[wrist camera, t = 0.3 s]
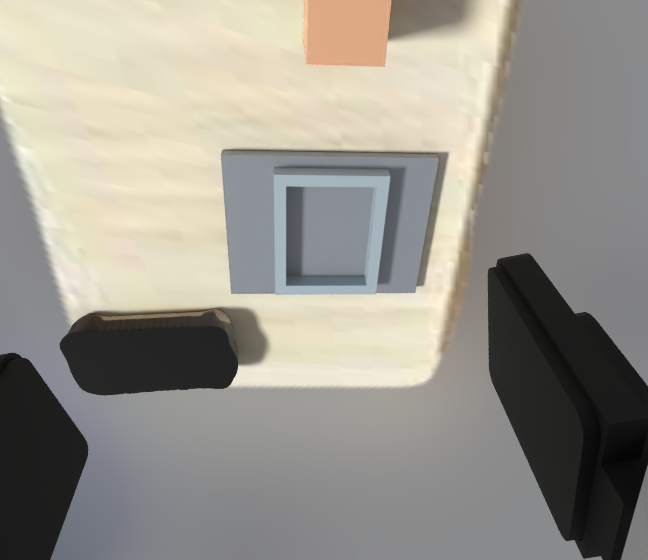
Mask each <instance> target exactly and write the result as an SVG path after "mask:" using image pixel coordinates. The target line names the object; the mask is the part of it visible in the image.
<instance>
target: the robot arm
mask: <svg viewBox="0 0 648 560" xmlns="http://www.w3.org/2000/svg"><path fill="white" fill-rule="evenodd" d="M488 324H489V325H488V331H489V332H488V333H489V371H490V376H491V379H492V383H493V385H494V387H495V390H496V392H497V394H498V396H499V398H500V400H501V403H502V405H503V407H504V409H505V411H506V414H507V416H508V418H509V421H510V423H511V425H512V427H513V429H514V432H515V434H516V436H517V438H518V440H519V443H520V445H521V447H522V449H523V452H524V454H525V456H526V458H527V460H528V462H529V465H530V467H531V469H532V471H533V474H534V476H535V478H536V480H537V482H538V485H539V487H540V489H541V491H542V494H543V496H544V498H545V500H546V502H547V505H548V507H549V509H550V511H551V514H552V516H553V518H554V520H555V522H556V524H557V527H558V529H559V531H560V533H561V535H562V536H563V538H564V539H565V540H566V541H570V540H575V542H576V544H577V546H578V548H579V550H580V552H581V555H582V557H583V558H584V559H585V558H591V557H597V556H601V557H602V559H603V560H648V386H647V385H646V383H645V382H644V381H643V379H642V378H641V377H640V376H639V374H638V373H637V372H636V371H635V369H634V368H633V367H632V366H631V364H630V363H629V362H628V360H627V359H626V358H625V356H624V355H623V354H622V353H621V351H620V350H619V349H618V348H617V346H616V345H615V344H614V342H613V341H612V340H611V338H610V337H609V336H608V335H607V333H606V332H605V331H604V330H603V328H602V327H601V326H600V324H599V323H598V322H597V321H596V319H595V318H593V316H591V315H590V314H589V313H586V312H582V313H577V314H574V312H573V311H572V309H571V308H570V307H569V305H568V304H567V303H566V301H565V300H564V299H563V297H562V296H561V295H560V293H559V292H558V291H557V289H556V288H555V286H554V285H553V284H552V282H551V281H550V280H549V279H548V277H547V276H546V274H545V273H544V272H543V270H542V269H541V268H540V266H539V265H538V263H537V262H536V261H535V259H534V258H533V257H532V256H531V255H530V254H528V253H526V254H521V255H516V256H510V257H505V258H500V259H498V261H497V266H496V267H493V268H489V270H488ZM87 456H88V445H87V442H86V440H85V438H84V437H83V435H82V434H81V432H80V431H79V430H78V428H77V427H76V425H75V424H74V422H73V421H72V420H71V418H70V417H69V415H68V414H67V413H66V411H65V410H64V408H63V407H62V406H61V404H60V403H59V402H58V400H57V398H56V397H55V396H54V394H53V393H52V391H51V390H50V389H49V387H48V386H47V384H46V383H45V382H44V380H43V379H42V377H41V376H40V375H39V373H38V372H37V370H36V369H35V367H34V366H33V365H32V363H31V362H30V361H29V360H28V359H26V358H22V357H21V356H20V355H18V354H16V353H8V354H3V355H0V560H50V559H51V556H52V553H53V551H54V548H55V545H56V542H57V540H58V537H59V534H60V531H61V529H62V526H63V523H64V520H65V518H66V515H67V512H68V509H69V507H70V504H71V501H72V498H73V496H74V493H75V490H76V487H77V484H78V482H79V479H80V476H81V473H82V470H83V468H84V465H85V463H86V460H87Z"/></svg>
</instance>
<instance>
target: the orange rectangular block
mask: <svg viewBox="0 0 648 560" xmlns="http://www.w3.org/2000/svg"><path fill="white" fill-rule="evenodd" d="M391 1H392V0H304V12H303V45H304V51H305V57H306V63H307V64H312V65H347V66H381V67H385V59H386V49H387V40H388V30H389V20H390V11H391Z"/></svg>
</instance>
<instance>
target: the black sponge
mask: <svg viewBox="0 0 648 560" xmlns="http://www.w3.org/2000/svg"><path fill="white" fill-rule="evenodd" d="M60 349H61V351H62V353H63V355H64V356H65V358H66V360H67V362H68V365H69V368H70V371H71V373H72V375H73V377H74V379H75V381H76V382H77V384H78V385H79V387H80V388H81V389H82V390H84V391H86V392H88V393H92V394H96V395H115V394H116V395H117V394H124V393H128V394H130V393H140V392H153V391H164V390H177V389H179V390H188V389H196V388H213V389H224V388H227V387H228V386H229V385H231V383H232V381H233V379H234V377H235V375H236V373H237V369H238V351H237V346H236V342H235V339H234V336H233V330H232V325H231V321H230V319H229V318H228V316H227V315H226V314H225V313H224V312H222V311H220V310H218V309H211V310H208V311H203V312H184V313H167V314H148V315H129V316H110V317H107V316H102V315H98V314H94V315H87V316H83V317H82V318H80V319H79V320H77V321H76V322H75V323H74V324H73V325H72V327H71V329H70V331H69V332H68V334H67V335H66V336H65V337H64V338H63V339H62V340H61V342H60Z"/></svg>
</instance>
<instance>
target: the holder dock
mask: <svg viewBox="0 0 648 560" xmlns="http://www.w3.org/2000/svg"><path fill="white" fill-rule="evenodd" d="M221 162H222V175H223V189H224V202H225V216H226V229H227V243H228V256H229V270H230V283H231V294H275V295H281V294H376V293H415V291H416V285H417V280H418V274H419V269H420V263H421V257H422V252H423V246H424V240H425V235H426V229H427V224H428V218H429V212H430V207H431V201H432V195H433V190H434V184H435V179H436V173H437V167H438V162H439V157H438V156H437V154H415V153H355V152H294V151H234V150H222V153H221Z"/></svg>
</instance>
